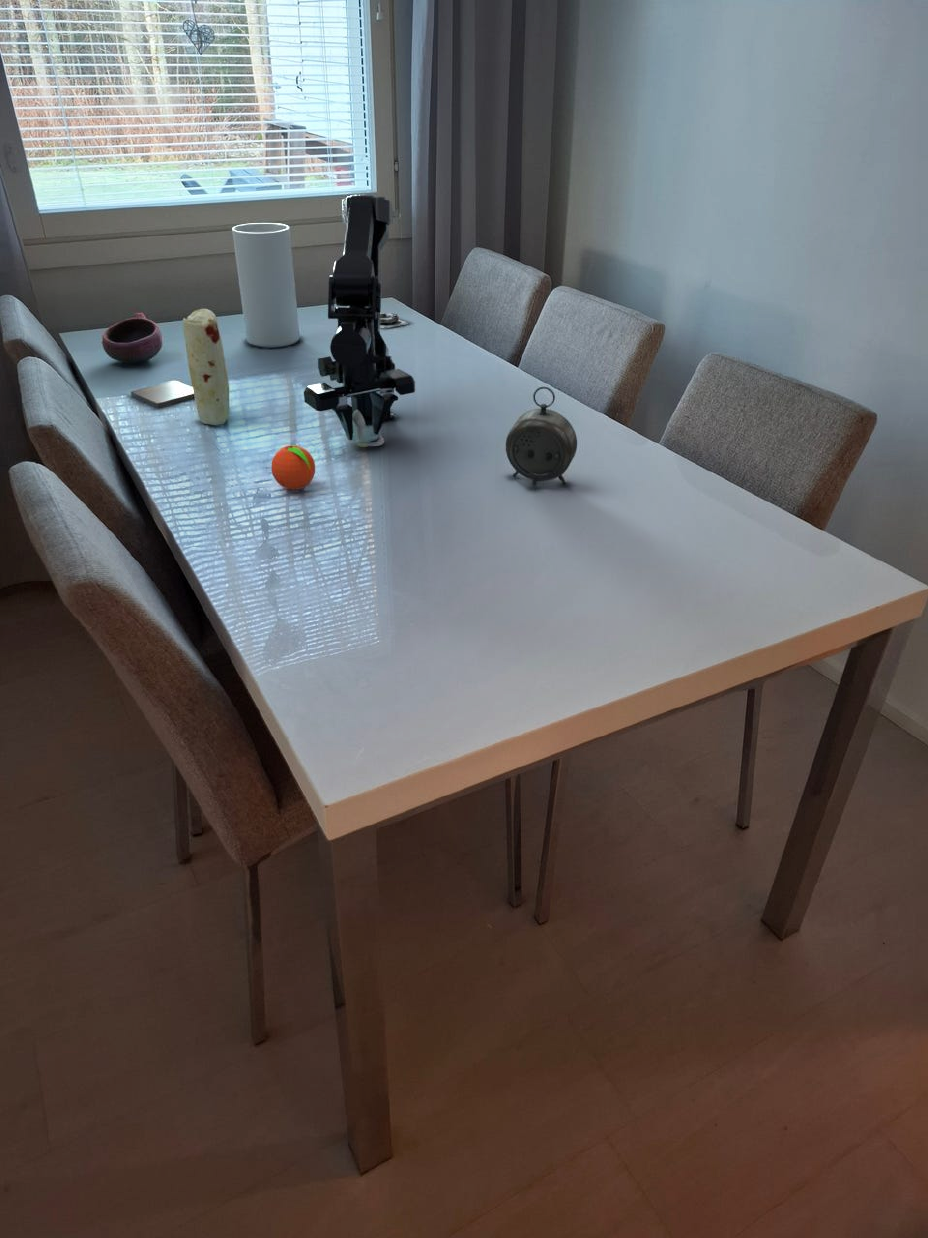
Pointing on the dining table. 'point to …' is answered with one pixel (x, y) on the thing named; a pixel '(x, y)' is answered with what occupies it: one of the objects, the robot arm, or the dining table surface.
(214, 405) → the food model
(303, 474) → the clementine
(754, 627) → the dining table surface
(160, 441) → the dining table surface
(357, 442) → the pacifier
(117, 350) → the bowl
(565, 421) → the alarm clock
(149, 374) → the dining table surface
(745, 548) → the dining table surface
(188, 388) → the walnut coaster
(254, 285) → the cylinder vase
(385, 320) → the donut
